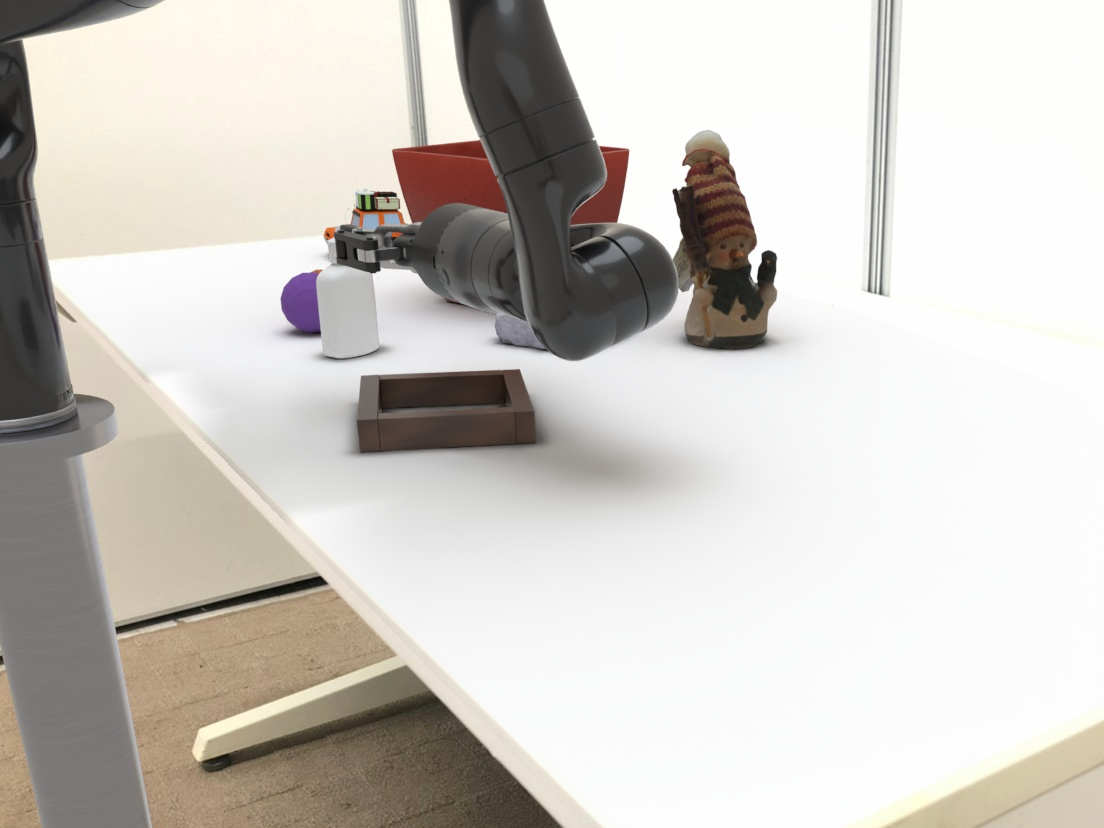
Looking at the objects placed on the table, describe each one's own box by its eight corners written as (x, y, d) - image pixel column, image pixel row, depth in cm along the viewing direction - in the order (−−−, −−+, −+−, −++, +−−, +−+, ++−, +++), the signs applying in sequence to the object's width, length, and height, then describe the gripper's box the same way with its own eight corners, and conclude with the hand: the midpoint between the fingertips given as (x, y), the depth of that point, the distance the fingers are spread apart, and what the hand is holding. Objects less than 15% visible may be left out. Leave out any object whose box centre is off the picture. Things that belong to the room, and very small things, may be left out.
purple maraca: (350, 262, 144) (344, 280, 126) (345, 314, 146) (338, 340, 127) (295, 253, 142) (281, 270, 124) (290, 306, 144) (275, 331, 126)
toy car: (423, 256, 172) (418, 189, 169) (334, 262, 166) (327, 192, 163) (408, 248, 177) (403, 183, 174) (321, 254, 172) (314, 186, 168)
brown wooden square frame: (359, 452, 94) (356, 419, 93) (363, 404, 105) (360, 375, 104) (536, 442, 97) (534, 411, 96) (521, 397, 108) (519, 368, 107)
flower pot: (529, 325, 134) (522, 160, 128) (399, 303, 143) (386, 147, 137) (635, 297, 149) (634, 147, 143) (512, 278, 158) (505, 137, 152)
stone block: (634, 348, 133) (559, 317, 136) (640, 305, 130) (563, 275, 134) (565, 376, 123) (486, 342, 127) (570, 330, 121) (489, 297, 125)
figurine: (632, 345, 127) (629, 135, 119) (671, 320, 138) (671, 127, 130) (762, 356, 124) (768, 141, 116) (791, 330, 135) (798, 132, 127)
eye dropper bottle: (316, 350, 122) (302, 223, 117) (374, 345, 125) (363, 220, 120) (327, 360, 118) (314, 230, 114) (387, 354, 121) (376, 226, 117)
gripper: (561, 202, 100) (463, 182, 111) (391, 216, 92) (305, 193, 103) (564, 297, 103) (469, 268, 114) (401, 319, 94) (316, 285, 106)
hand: (392, 233), depth 109 cm, fingers open, 8 cm apart
